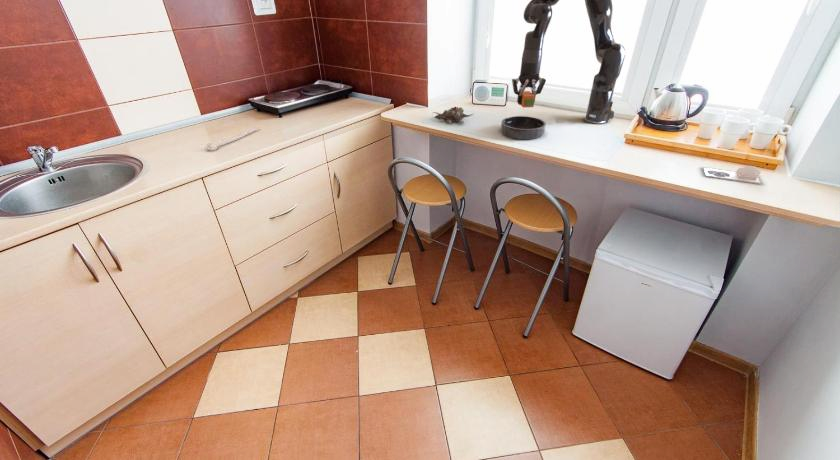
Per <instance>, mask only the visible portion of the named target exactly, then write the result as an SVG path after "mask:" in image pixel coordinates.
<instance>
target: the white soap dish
mask: <svg viewBox="0 0 840 460" xmlns="http://www.w3.org/2000/svg"><path fill="white" fill-rule="evenodd" d="M703 173H704V176H705V177H706V178H712V179H713V178H714V179H721V180H728V181H734V182H735V181H736V182H741V183H748V184H749V183H750V184H755V185H761V183H762V182H761V180H760V179H759V178H760V175H761V170H760V169H758V168H757V166H755V165H745V166H743V167H739V168H737V170H736V171H731V170H724V169H717V168H709V167H703Z"/></svg>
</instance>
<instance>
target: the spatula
mask: <svg viewBox="0 0 840 460" xmlns="http://www.w3.org/2000/svg"><path fill="white" fill-rule="evenodd" d="M258 130H259V127H254V128H253V127H252V128H251V129H247V130H245V131H243V132H241V133H238V134H236V135H234V136H232V137H229V138H227V139H226V138H225V139H224V140H220V141H218V142H209V143H207V144H206V150H208V151H210V152H211V151H216V150H217V149H218V148H219V147H221V146H223V145H228V144H230V143H232V142H235V141H237V140H240V139H241V138H244V137H246V136H248V135H250V134H252V133H255V132H256V131H258ZM248 132H249V133H248ZM235 138H236V139H235ZM228 141H229V142H228ZM223 143H224V144H223ZM218 145H219V146H218ZM215 147H216V148H215ZM208 148H210V149H208ZM211 148H213V149H211Z"/></svg>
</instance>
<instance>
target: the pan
mask: <svg viewBox="0 0 840 460" xmlns="http://www.w3.org/2000/svg"><path fill="white" fill-rule="evenodd" d="M500 124H501V125H500V132H501V134H502V135H503V136H504V137H506V138H510V139H513V140H521V141H527V140H528V141H529V140H531V141H532V140H537V139H540V138H542V137H543V136H544V135H545V133H546V127H547V123H546V121H544V120H543V119H541V118H538V117H534V116H527V115H515V116H508V117H504V118H503V119H502V120H501V123H500Z"/></svg>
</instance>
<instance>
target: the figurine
mask: <svg viewBox="0 0 840 460" xmlns="http://www.w3.org/2000/svg"><path fill="white" fill-rule="evenodd" d="M464 111H465V110H464V109H463V107H458V106H454V107H451V108H450V109H448V110H446V109H445V110H444V111H443V112H442V113H439V112H437V111H432V114H437V115H435V116H432V118H433V119H434V118H435V119H437V120H440V121H441V120H443V121H445V124H451V123H452V122H456V123H458V124H459V125H462V124H464V121H463V119H464V118H468V117H471V116H473V115H474V113H470V114H465V113H464Z"/></svg>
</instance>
